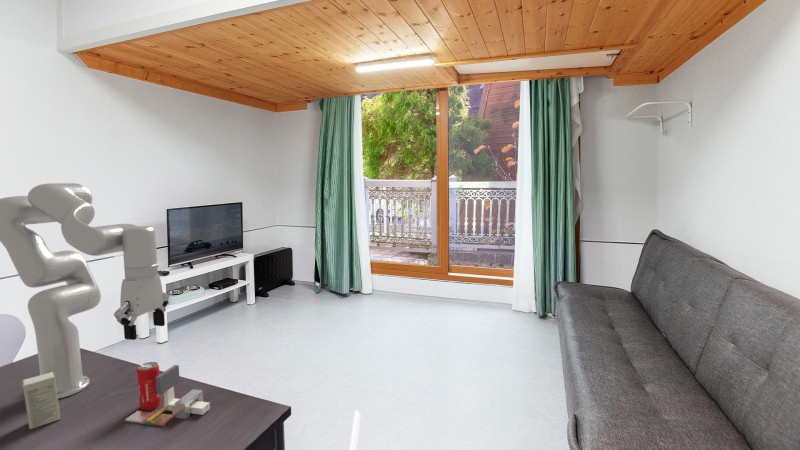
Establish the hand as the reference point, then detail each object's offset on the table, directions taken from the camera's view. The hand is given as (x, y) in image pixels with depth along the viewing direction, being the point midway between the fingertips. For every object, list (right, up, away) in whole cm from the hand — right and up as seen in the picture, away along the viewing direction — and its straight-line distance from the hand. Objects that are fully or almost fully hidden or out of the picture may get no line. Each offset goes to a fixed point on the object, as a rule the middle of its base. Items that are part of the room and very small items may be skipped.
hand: (145, 331), depth 109 cm
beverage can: (0, -22, +3) cm, 22 cm away
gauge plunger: (+11, -22, -1) cm, 24 cm away
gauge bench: (+6, -22, -1) cm, 23 cm away
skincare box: (-24, -23, -5) cm, 33 cm away
